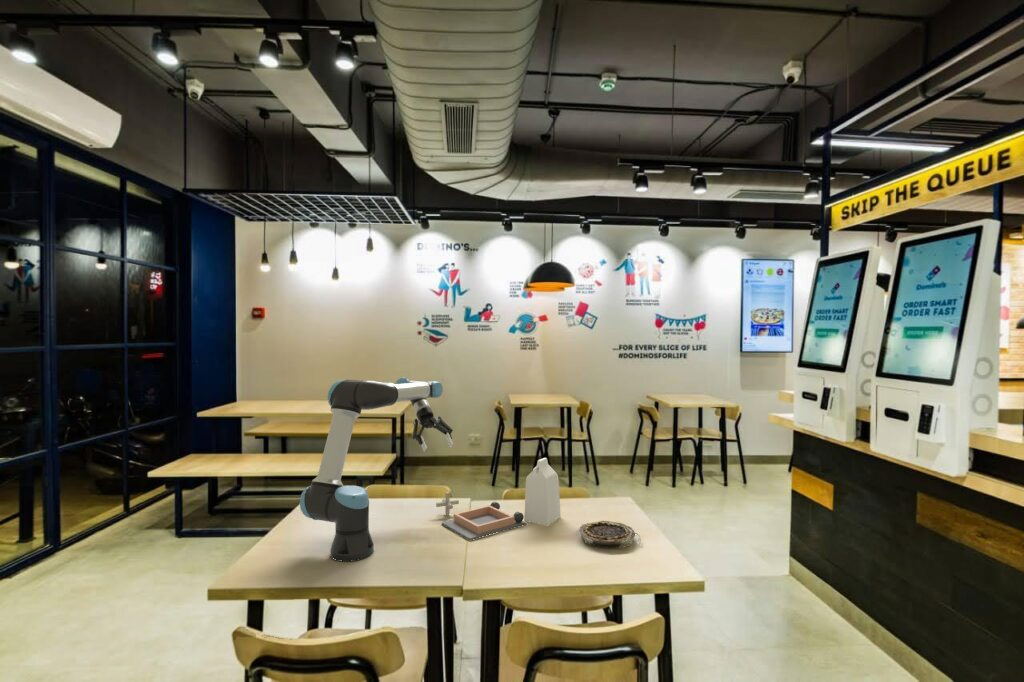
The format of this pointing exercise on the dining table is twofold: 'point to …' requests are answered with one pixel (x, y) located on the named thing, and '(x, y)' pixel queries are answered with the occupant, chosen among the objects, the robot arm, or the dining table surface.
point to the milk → (542, 495)
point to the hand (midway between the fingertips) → (438, 447)
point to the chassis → (483, 521)
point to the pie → (607, 534)
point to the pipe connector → (447, 503)
